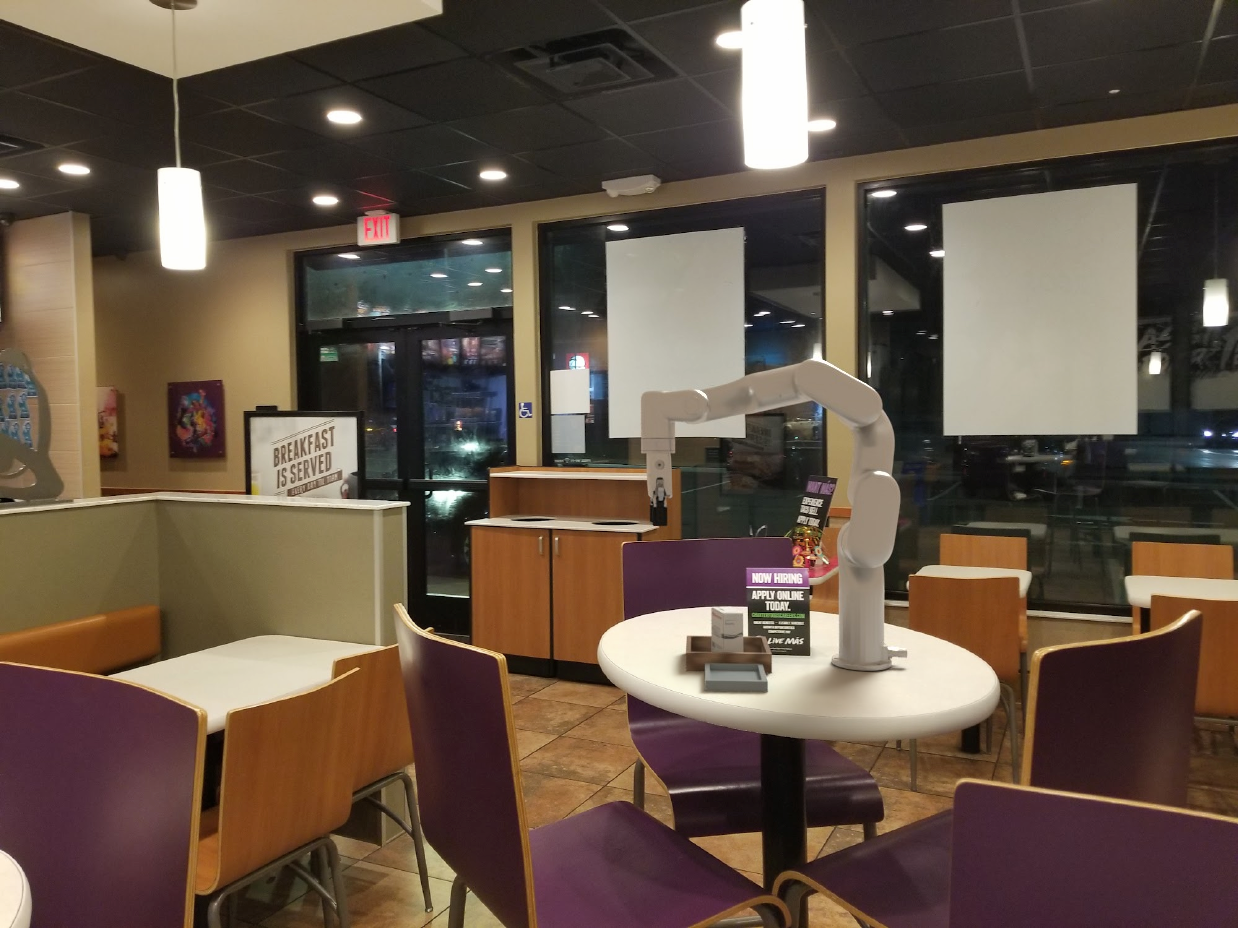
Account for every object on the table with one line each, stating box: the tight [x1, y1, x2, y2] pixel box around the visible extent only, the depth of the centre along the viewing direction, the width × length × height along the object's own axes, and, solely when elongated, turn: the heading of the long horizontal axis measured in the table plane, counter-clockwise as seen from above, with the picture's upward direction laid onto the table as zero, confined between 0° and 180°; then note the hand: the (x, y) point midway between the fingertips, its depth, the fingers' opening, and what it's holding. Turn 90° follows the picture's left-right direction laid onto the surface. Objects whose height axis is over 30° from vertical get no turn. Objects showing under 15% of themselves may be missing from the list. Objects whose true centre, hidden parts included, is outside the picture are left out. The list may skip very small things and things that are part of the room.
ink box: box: [710, 606, 744, 652], centre depth 193 cm, size 9×5×12 cm, turn 12°
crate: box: [685, 635, 773, 674], centre depth 193 cm, size 18×17×4 cm
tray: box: [704, 663, 769, 693], centre depth 177 cm, size 12×14×2 cm
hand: (658, 524), depth 194 cm, fingers open, 9 cm apart
